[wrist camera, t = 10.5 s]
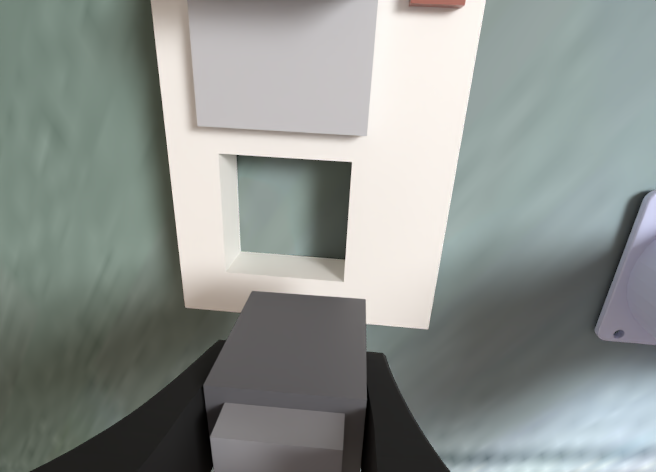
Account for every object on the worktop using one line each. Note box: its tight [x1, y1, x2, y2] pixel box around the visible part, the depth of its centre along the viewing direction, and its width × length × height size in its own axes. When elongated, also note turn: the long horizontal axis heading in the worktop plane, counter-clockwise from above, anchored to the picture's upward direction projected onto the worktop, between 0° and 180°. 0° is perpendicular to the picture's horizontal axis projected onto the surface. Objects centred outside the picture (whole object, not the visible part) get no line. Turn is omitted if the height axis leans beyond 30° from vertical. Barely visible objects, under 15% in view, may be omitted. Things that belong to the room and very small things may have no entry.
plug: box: [203, 291, 367, 472], centre depth 12 cm, size 4×4×6 cm
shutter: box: [187, 0, 378, 136], centre depth 13 cm, size 7×7×3 cm
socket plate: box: [151, 0, 486, 329], centre depth 16 cm, size 12×17×3 cm
